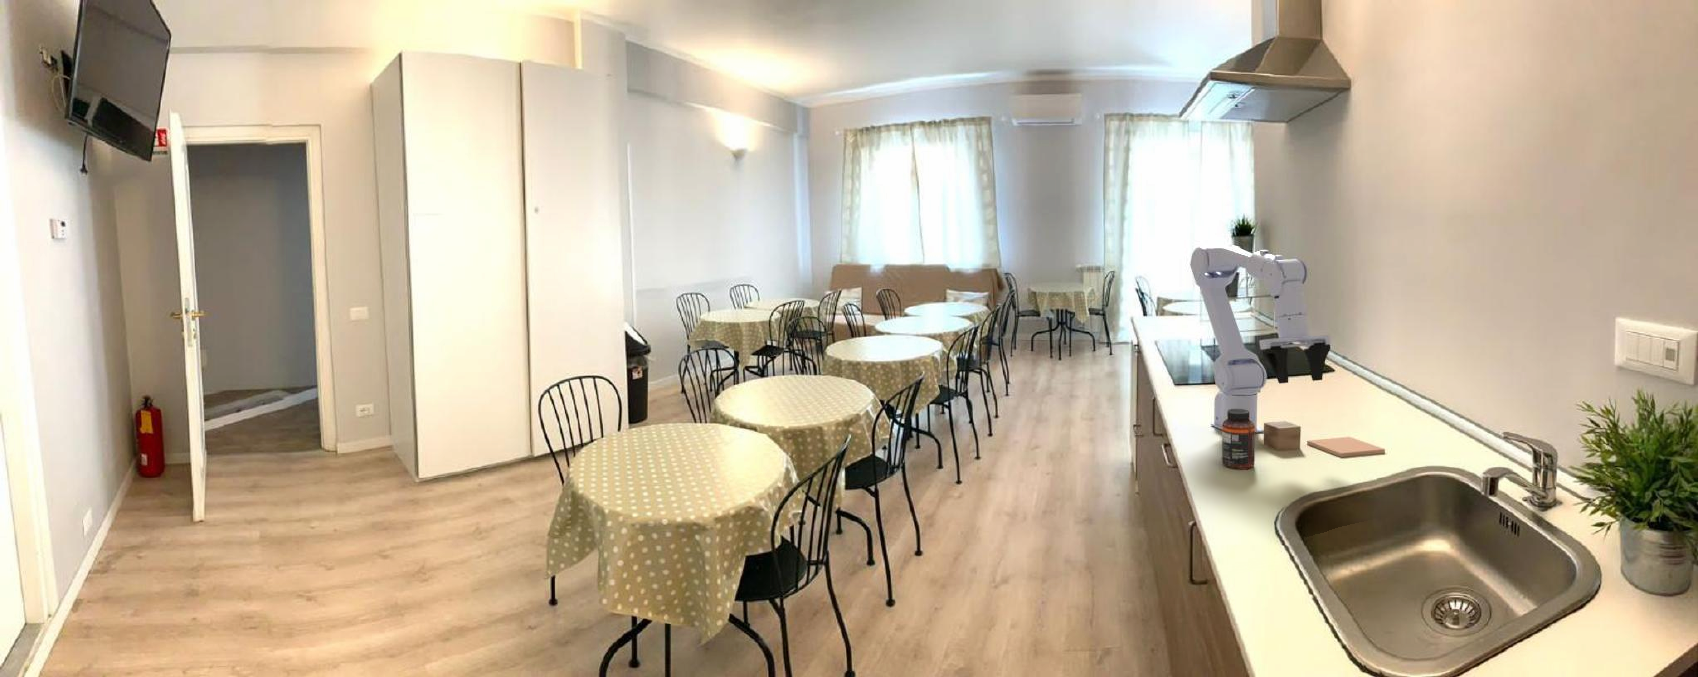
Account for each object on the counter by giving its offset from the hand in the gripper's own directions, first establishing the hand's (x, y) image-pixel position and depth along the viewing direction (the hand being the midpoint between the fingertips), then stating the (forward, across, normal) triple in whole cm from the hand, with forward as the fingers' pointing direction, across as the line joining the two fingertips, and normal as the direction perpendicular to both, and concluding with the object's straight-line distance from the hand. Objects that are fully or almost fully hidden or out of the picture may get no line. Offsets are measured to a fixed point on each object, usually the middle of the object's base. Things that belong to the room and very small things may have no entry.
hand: (1300, 381), depth 171 cm
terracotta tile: (+15, +11, +4) cm, 19 cm away
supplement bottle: (+16, -16, 0) cm, 23 cm away
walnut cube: (+14, 0, +9) cm, 16 cm away
